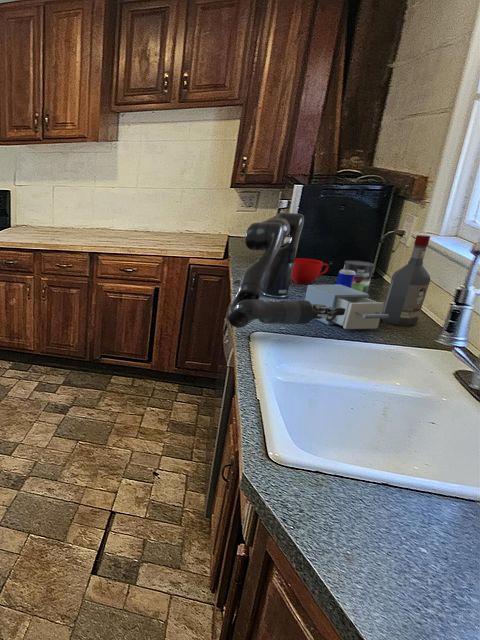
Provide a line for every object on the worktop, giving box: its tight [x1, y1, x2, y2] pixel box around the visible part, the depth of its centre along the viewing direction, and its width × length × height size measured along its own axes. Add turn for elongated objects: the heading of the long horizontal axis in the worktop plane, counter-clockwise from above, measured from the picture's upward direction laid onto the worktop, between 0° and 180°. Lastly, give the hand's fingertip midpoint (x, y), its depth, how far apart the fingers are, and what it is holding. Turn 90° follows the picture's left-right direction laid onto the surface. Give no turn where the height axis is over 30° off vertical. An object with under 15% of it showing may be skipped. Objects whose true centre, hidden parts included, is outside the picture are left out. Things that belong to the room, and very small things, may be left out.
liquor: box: [380, 234, 431, 327], centre depth 181 cm, size 9×9×30 cm
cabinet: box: [304, 283, 370, 326], centre depth 188 cm, size 15×13×11 cm
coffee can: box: [343, 260, 376, 294], centre depth 216 cm, size 10×10×14 cm
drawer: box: [331, 297, 389, 330], centre depth 178 cm, size 18×11×9 cm, turn 5°
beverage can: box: [335, 268, 355, 288], centre depth 197 cm, size 5×5×15 cm
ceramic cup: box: [291, 257, 330, 285], centre depth 239 cm, size 13×17×10 cm
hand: (343, 311), depth 170 cm, fingers closed
